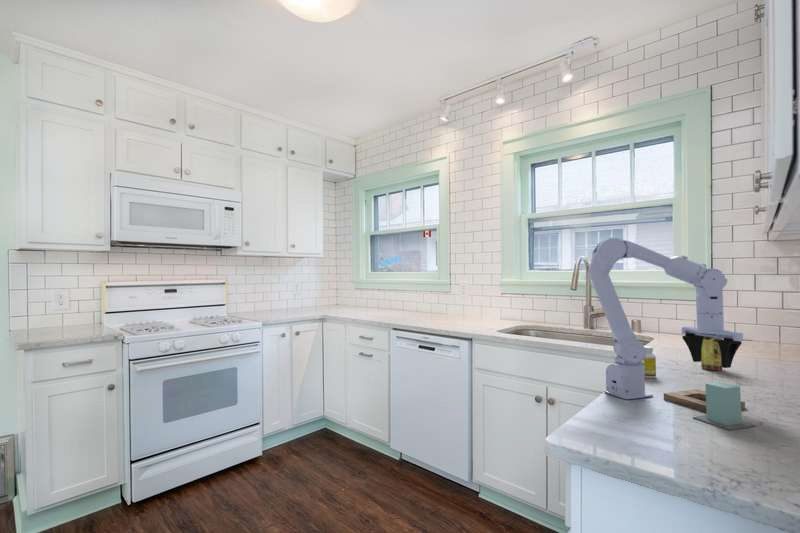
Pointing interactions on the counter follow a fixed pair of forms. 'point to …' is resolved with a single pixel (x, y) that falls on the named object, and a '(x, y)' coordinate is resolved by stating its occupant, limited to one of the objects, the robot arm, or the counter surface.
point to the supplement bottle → (649, 363)
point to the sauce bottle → (711, 354)
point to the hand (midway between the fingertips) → (711, 364)
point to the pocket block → (691, 399)
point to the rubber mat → (728, 427)
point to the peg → (723, 403)
